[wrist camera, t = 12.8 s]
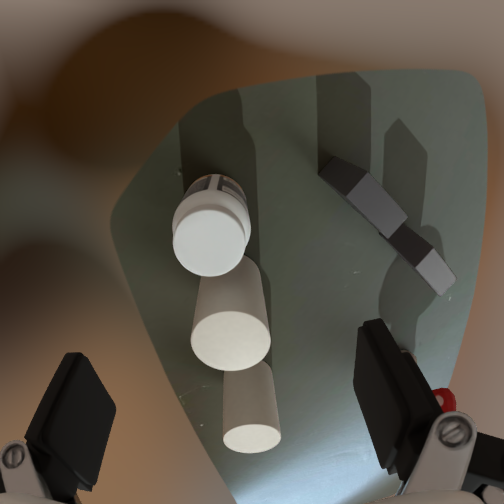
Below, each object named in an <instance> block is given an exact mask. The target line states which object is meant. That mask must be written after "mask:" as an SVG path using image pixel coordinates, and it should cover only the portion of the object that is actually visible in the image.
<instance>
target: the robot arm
mask: <svg viewBox="0 0 504 504" xmlns="http://www.w3.org/2000/svg"><path fill="white" fill-rule="evenodd" d="M353 386H354V391H355V394H356V396H357V399H358V402H359V405H360V408H361V410H362V413H363V416H364V419H365V422H366V425H367V428H368V431H369V434H370V436H371V439H372V442H373V445H374V448H375V451H376V454H377V457H378V460H379V464H380V466H381V468H382V469H385V468H387V471H388V474H389V475H391V474H394V473H398V476H399V479H400V480H402V483H401V485H400V487H399V489H398V491H397V493H396V495H395V496H394V497H390V498H386V499H382V500H377V501H373V502H369V503H364V504H504V439H500V438H496V437H493V436H490V435H486V434H483V433H480V432H477V427H476V424H475V422H474V421H473V419H472V418H471V417H470V416H468V415H467V414H465V413H462V412H459V411H450V412H446V413H444V412H443V410H442V408H441V406H440V404H439V402H438V401H437V399H436V397H435V395H434V393H433V392H432V390H431V388H430V386H429V384H428V383H427V381H426V379H425V377H424V376H423V374H422V372H421V370H420V369H419V367H418V365H417V363H416V362H415V360H414V358H413V357H412V355H411V354H410V353H409V352H403V353H402V352H401V350H400V349H399V347H398V345H397V344H396V342H395V340H394V338H393V337H392V335H391V333H390V332H389V330H388V328H387V326H386V325H385V323H384V321H383V320H382V319H381V318H379V319H374V320H369V321H365V322H364V323H363V326H361V327H359V328H358V337H357V349H356V359H355V369H354V378H353ZM115 414H116V406H115V403H114V402H113V400H112V399H111V397H110V395H109V394H108V392H107V390H106V389H105V387H104V385H103V384H102V382H101V380H100V379H99V377H98V375H97V374H96V372H95V370H94V368H93V367H92V365H91V363H90V361H89V359H88V358H87V357H86V356H84V355H83V354H82V353H80V352H75V353H66V354H65V356H64V358H63V360H62V361H61V364H60V365H59V367H58V369H57V371H56V373H55V374H54V377H53V378H52V380H51V382H50V384H49V386H48V388H47V390H46V392H45V394H44V396H43V398H42V400H41V402H40V404H39V406H38V408H37V411H36V413H35V414H34V417H33V419H32V421H31V423H30V425H29V427H28V430H27V432H26V434H25V436H24V438H25V439H26V440H27V442H26V444H25V443H24V442H23V441H20V440H13V441H10V442H9V443H7V444H6V445H5V446H4V447H3V448H2V450H1V452H0V504H82V503H81V501H80V499H79V497H78V496H77V493H76V491H77V488H78V489H80V490H85V491H90V492H91V491H92V487H93V485H95V484H96V482H97V479H98V475H99V471H100V467H101V463H102V459H103V456H104V452H105V448H106V445H107V441H108V438H109V434H110V431H111V427H112V424H113V420H114V417H115Z"/></svg>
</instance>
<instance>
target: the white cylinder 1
mask: <svg viewBox="0 0 504 504" xmlns="http://www.w3.org/2000/svg"><path fill="white" fill-rule="evenodd" d="M270 343H271V338H270V332H269V325H268V319H267V313H266V307H265V300H264V294H263V288H262V282H261V275H260V271H259V269H258V267H257V265H256V264H255V263H254V262H253V261H252V260H251V259H250V258H248V257H247V256H245V255H243V257H242V259H241V260H240V262H239V263H238V264H237V265H236V266H235V267H234V268H233V269H232V270H230V271H229V272H227V273H225V274H222V275H219V276H212V277H209V276H201V280H200V286H199V291H198V297H197V303H196V309H195V315H194V321H193V327H192V334H191V346H192V349H193V351H194V353H195V354H196V356H197V357H198V358H199V359H200V360H201V361H202V362H204V363H205V364H207V365H208V366H211V367H213V368H216V369H219V370H225V371H237V370H243V369H246V368H249V367H252V366H254V365H255V364H257V363H258V362H260V361H261V360H262V359H263V358H264V357H265V355H266V354H267V352H268V350H269V348H270Z"/></svg>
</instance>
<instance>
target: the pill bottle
mask: <svg viewBox="0 0 504 504" xmlns="http://www.w3.org/2000/svg"><path fill="white" fill-rule="evenodd" d="M172 228H173V248H174V252H175V255H176V257H177V259H178V260H179V262H180V263H181V264H182V265H183V266H184V267H185V268H186V269H188V270H189V271H191V272H193V273H195V274H197V275H201V276H209V277H212V276H219V275H222V274H225V273H227V272H229V271H230V270H232V269H233V268H234V267H235V266H236V265H237V264H238V263H239V262H240V260H241V259H242V257H243V254H244V251H245V247H246V246H247V243H248V241H249V238H250V234H251V224H250V218H249V213H248V206H247V201H246V197H245V194H244V192H243V190H242V188H241V187H240V186H239V184H238V183H237V182H235V181H234V180H233V179H231V178H229V177H227V176H224V175H220V174H211V175H206V176H203V177H201V178H199V179H197V180H196V181H195V182H194V183H193V184H192V185H191V186H190V187H189V189H188V190H187V192H186V193H185V195H184V197H183V199H182V200H181V202H180V204H179V206H178V207H177V209H176V211H175V214H174V218H173V224H172Z"/></svg>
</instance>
